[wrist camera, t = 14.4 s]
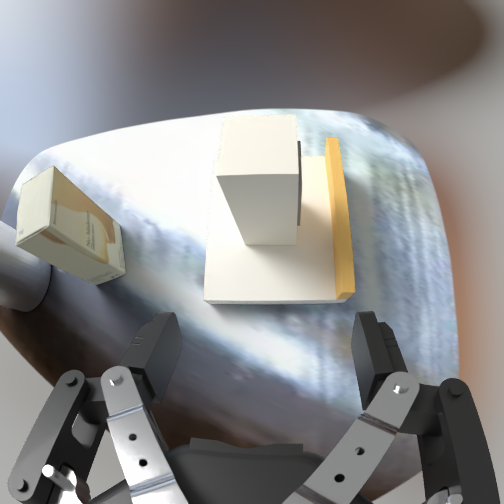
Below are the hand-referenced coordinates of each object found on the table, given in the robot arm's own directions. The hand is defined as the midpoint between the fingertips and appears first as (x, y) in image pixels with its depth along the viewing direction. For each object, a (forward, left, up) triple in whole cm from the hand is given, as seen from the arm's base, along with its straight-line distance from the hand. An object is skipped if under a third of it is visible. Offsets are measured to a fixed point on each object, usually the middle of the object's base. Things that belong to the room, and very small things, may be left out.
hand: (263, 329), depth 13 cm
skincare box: (-18, +8, -13) cm, 24 cm away
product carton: (0, +10, -11) cm, 15 cm away
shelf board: (0, +10, -13) cm, 17 cm away
